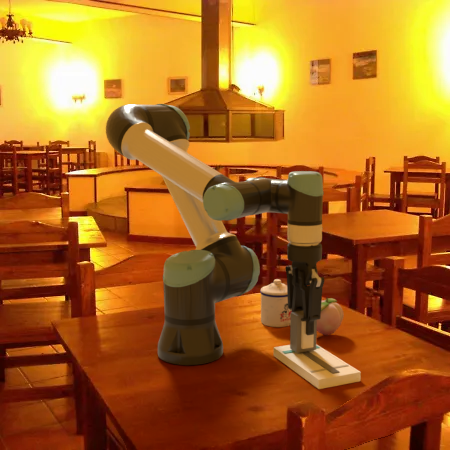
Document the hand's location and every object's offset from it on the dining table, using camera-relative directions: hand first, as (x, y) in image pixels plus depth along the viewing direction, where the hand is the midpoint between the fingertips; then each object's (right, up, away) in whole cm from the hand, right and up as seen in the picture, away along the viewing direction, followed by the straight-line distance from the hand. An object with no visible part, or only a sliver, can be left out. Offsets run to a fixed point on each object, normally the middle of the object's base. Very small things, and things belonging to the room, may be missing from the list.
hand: (303, 344), depth 145 cm
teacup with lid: (-3, +1, +28) cm, 28 cm away
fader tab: (0, -1, 0) cm, 1 cm away
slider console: (+2, -4, -4) cm, 6 cm away
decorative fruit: (+7, -1, +16) cm, 18 cm away
